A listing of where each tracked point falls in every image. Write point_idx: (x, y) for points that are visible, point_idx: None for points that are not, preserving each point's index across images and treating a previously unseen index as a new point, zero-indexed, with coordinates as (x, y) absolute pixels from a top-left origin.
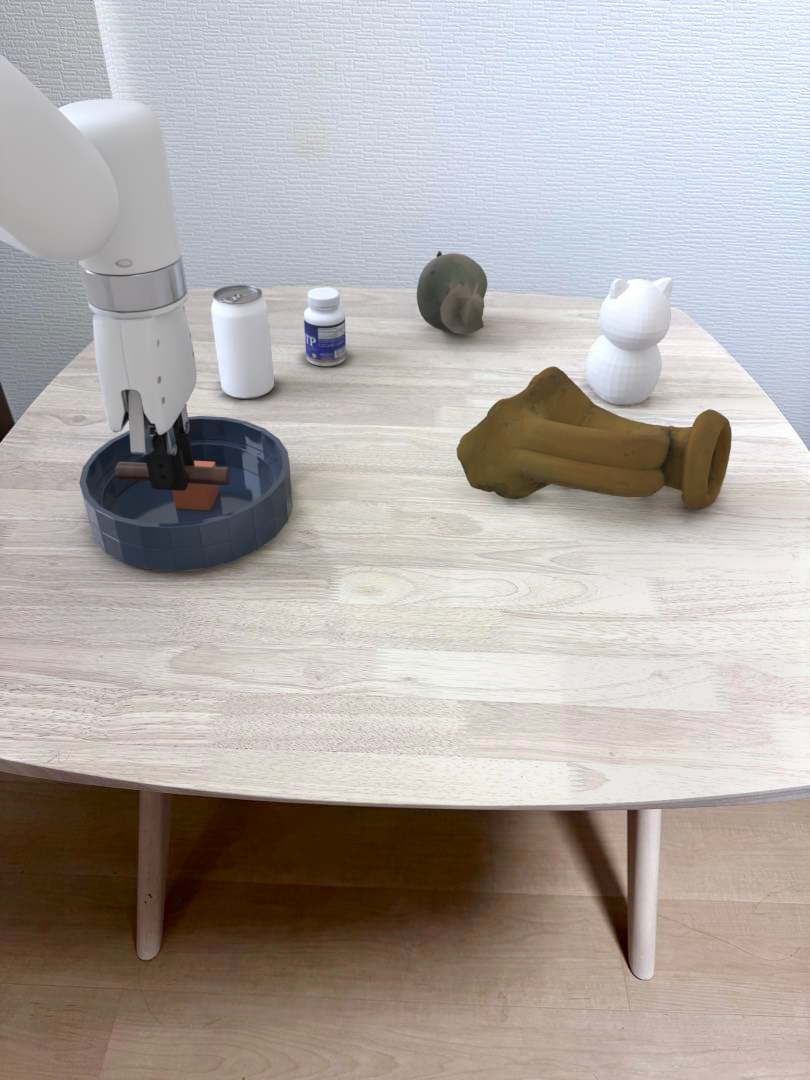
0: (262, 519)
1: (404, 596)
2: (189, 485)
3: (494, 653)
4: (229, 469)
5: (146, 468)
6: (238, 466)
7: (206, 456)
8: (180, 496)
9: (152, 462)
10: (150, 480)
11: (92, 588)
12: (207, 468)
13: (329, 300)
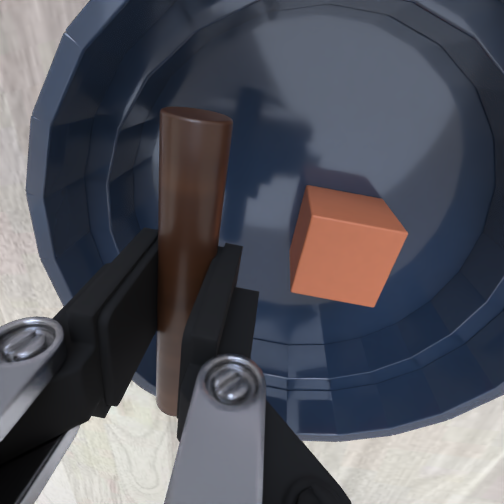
0: None
1: (121, 428)
2: (298, 250)
3: (61, 463)
4: None
5: (163, 235)
6: (438, 294)
7: (490, 244)
8: (303, 212)
9: (60, 314)
10: (136, 237)
11: (45, 31)
12: (171, 384)
13: None
